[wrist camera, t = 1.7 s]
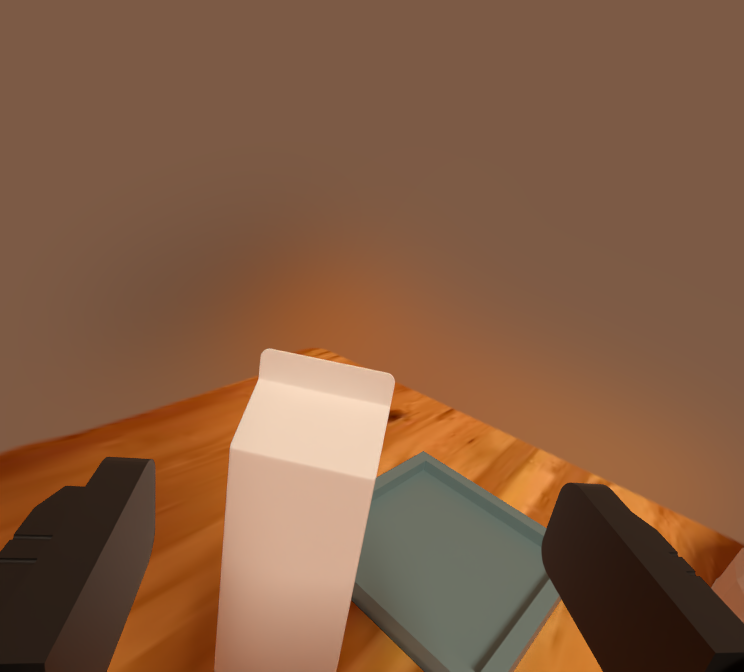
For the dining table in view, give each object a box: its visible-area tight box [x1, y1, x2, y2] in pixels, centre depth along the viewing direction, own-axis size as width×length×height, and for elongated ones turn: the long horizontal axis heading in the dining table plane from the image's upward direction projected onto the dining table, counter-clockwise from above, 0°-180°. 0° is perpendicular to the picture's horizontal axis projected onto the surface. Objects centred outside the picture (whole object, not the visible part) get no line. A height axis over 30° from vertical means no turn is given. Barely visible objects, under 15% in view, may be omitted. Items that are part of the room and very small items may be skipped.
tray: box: [351, 451, 561, 672], centre depth 40 cm, size 18×18×2 cm
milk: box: [214, 349, 395, 672], centre depth 24 cm, size 6×6×22 cm
